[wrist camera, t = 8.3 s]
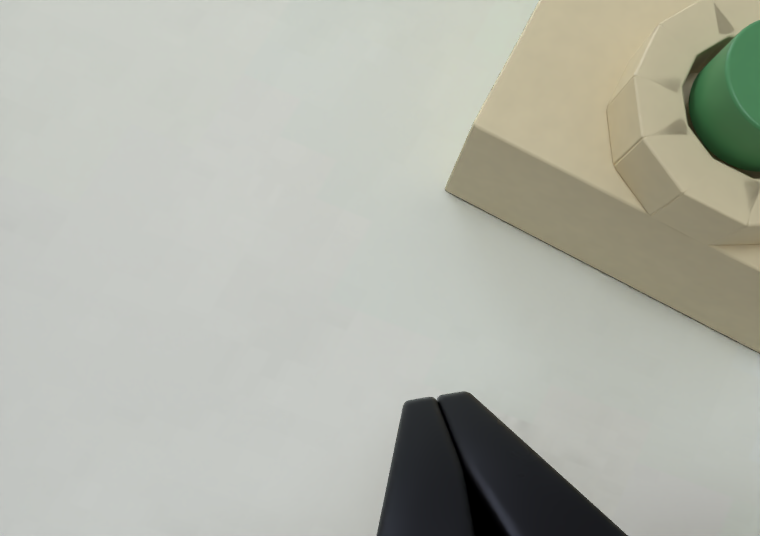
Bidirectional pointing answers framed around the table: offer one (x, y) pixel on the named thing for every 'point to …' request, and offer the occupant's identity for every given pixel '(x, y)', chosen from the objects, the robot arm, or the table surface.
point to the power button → (731, 101)
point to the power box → (623, 153)
